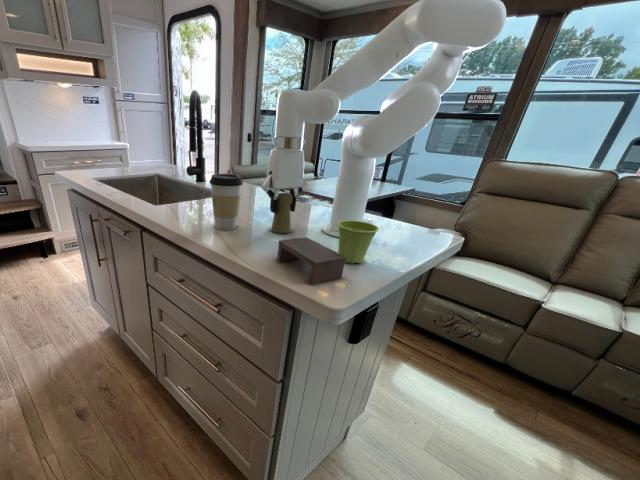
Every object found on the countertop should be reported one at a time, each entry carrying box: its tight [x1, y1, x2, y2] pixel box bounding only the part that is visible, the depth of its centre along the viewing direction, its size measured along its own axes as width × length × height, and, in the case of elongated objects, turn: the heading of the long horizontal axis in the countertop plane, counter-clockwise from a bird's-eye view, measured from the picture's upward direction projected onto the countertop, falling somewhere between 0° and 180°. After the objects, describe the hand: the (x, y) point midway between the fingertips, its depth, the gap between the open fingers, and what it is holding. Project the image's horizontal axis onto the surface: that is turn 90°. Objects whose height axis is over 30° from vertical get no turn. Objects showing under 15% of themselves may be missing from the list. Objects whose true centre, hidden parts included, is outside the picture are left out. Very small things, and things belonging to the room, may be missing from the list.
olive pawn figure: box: [270, 192, 293, 234], centre depth 95 cm, size 6×6×11 cm
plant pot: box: [337, 220, 380, 264], centre depth 77 cm, size 9×9×9 cm
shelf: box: [276, 236, 346, 285], centre depth 72 cm, size 8×14×5 cm, turn 26°
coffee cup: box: [209, 173, 244, 231], centre depth 95 cm, size 10×10×15 cm
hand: (282, 210), depth 94 cm, fingers closed on olive pawn figure, 5 cm apart
